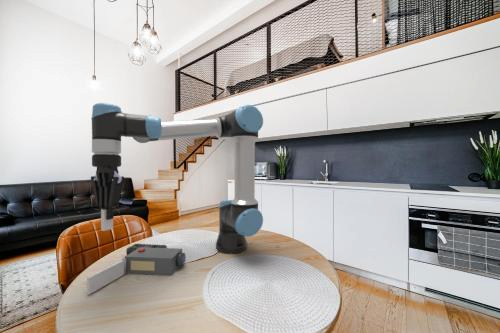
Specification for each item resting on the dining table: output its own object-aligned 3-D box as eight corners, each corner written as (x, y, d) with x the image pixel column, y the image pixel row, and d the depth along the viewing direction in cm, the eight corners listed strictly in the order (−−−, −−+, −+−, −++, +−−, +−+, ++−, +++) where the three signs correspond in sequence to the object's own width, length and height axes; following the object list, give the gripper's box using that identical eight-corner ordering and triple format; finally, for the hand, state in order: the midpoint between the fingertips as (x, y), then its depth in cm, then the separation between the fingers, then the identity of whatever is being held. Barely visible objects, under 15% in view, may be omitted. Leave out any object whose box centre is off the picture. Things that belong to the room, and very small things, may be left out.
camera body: (187, 263, 82) (187, 246, 82) (177, 275, 73) (177, 256, 73) (139, 261, 83) (139, 245, 83) (124, 273, 74) (124, 254, 74)
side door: (89, 295, 61) (89, 277, 61) (85, 294, 62) (85, 276, 62) (127, 273, 74) (127, 258, 74) (123, 272, 74) (123, 257, 74)
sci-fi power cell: (159, 253, 83) (172, 244, 92) (118, 250, 85) (134, 242, 95) (159, 263, 83) (172, 253, 92) (118, 260, 85) (134, 251, 95)
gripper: (132, 154, 64) (132, 228, 64) (106, 155, 70) (106, 224, 70) (107, 152, 58) (107, 235, 57) (81, 154, 63) (81, 230, 63)
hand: (107, 229), depth 64 cm, fingers closed
